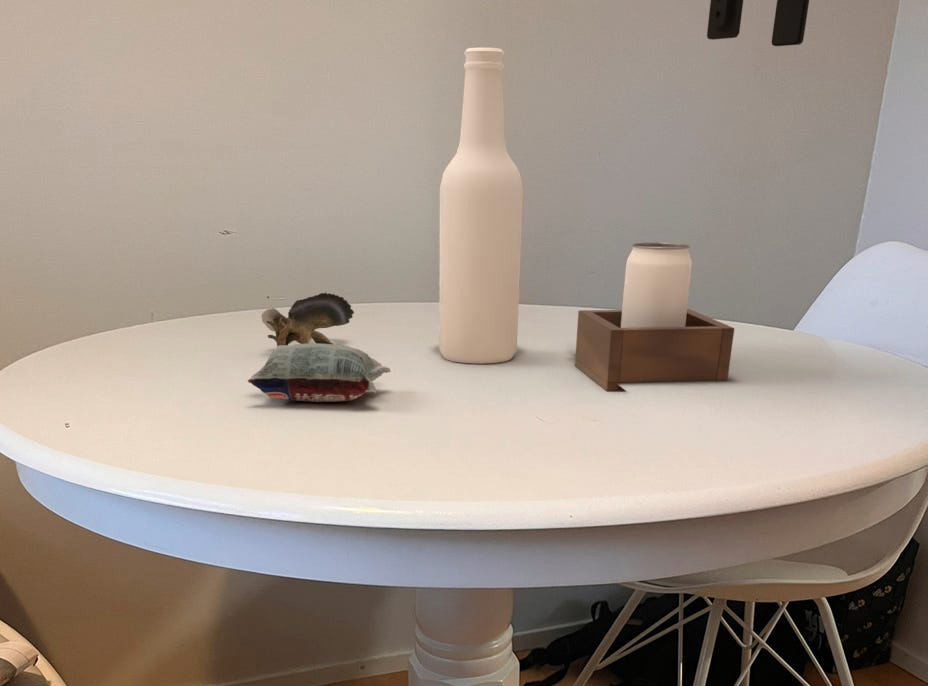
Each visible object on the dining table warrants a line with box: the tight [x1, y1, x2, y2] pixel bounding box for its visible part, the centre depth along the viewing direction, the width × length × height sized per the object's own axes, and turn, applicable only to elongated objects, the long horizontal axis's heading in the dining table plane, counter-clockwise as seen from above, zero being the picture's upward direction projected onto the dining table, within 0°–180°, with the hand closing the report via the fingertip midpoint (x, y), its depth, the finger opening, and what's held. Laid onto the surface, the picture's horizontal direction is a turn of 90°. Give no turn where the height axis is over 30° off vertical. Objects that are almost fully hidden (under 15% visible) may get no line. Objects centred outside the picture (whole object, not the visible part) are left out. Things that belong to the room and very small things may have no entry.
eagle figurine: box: [260, 292, 355, 347], centre depth 111 cm, size 8×7×9 cm
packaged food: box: [247, 343, 391, 403], centre depth 91 cm, size 9×12×5 cm
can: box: [621, 242, 693, 328], centre depth 99 cm, size 6×6×12 cm
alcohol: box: [438, 47, 524, 365], centre depth 104 cm, size 9×9×30 cm
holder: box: [574, 308, 735, 392], centre depth 101 cm, size 12×12×6 cm
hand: (755, 41), depth 91 cm, fingers open, 9 cm apart
